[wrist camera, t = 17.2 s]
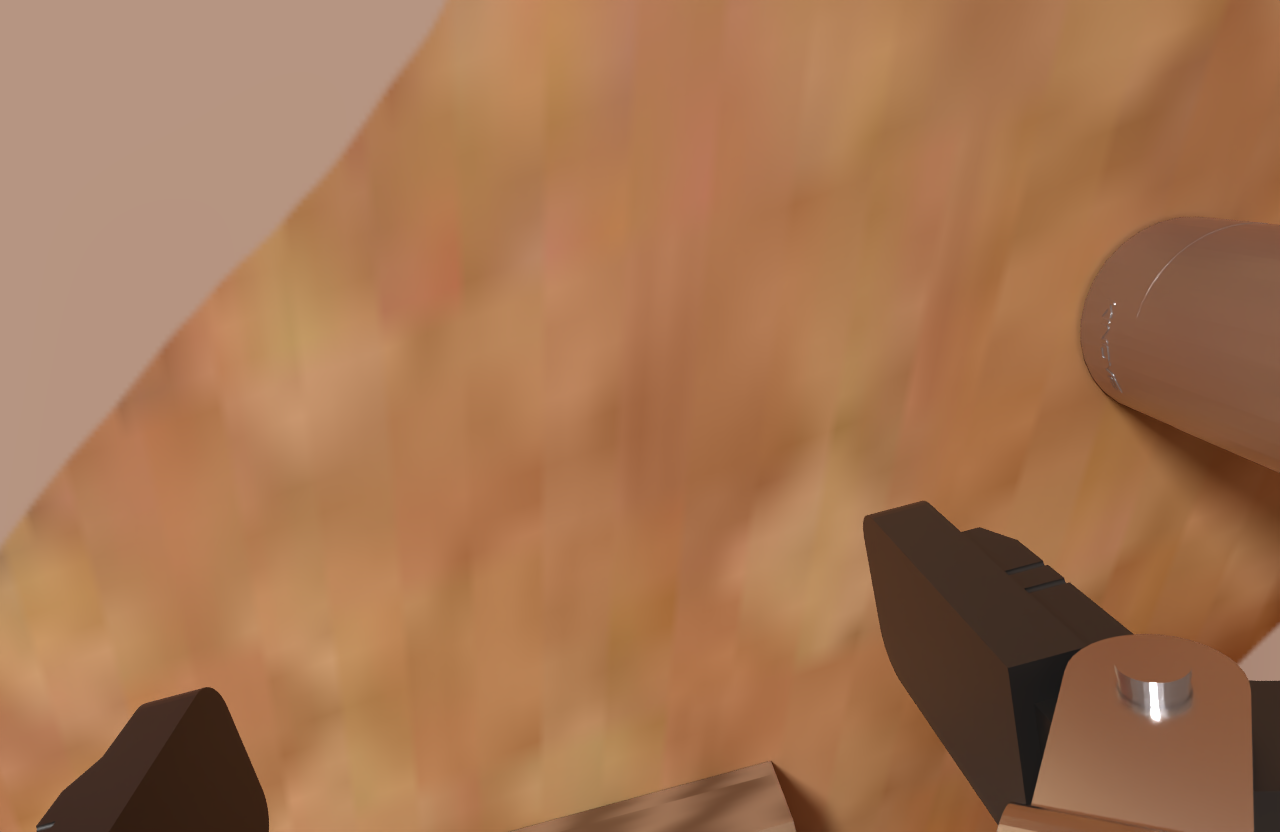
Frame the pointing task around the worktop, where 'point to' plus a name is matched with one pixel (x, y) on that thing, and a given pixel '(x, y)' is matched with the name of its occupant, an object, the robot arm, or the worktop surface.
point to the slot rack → (692, 808)
